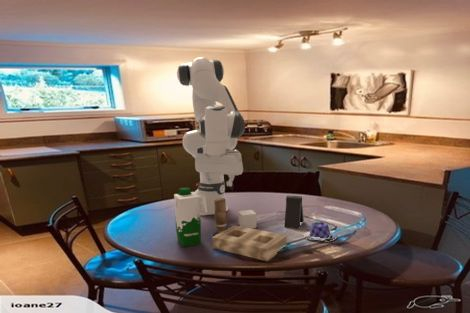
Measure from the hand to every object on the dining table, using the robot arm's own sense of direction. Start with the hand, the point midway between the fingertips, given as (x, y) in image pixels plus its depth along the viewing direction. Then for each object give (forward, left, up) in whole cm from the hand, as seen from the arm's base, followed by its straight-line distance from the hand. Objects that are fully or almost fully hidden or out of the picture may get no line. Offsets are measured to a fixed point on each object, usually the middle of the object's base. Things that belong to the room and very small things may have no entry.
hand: (219, 185), depth 135 cm
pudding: (+34, +16, -20) cm, 43 cm away
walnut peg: (0, 0, -20) cm, 20 cm away
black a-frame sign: (+20, +24, -20) cm, 37 cm away
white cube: (+4, +13, -20) cm, 24 cm away
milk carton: (-6, -12, -20) cm, 24 cm away
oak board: (+16, -5, -20) cm, 26 cm away
